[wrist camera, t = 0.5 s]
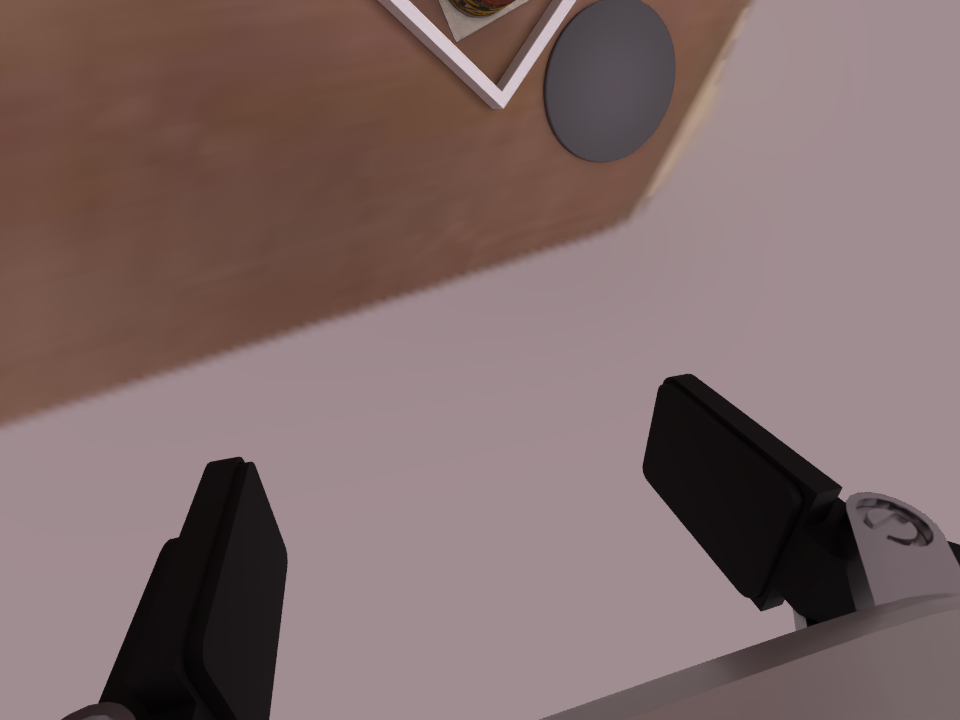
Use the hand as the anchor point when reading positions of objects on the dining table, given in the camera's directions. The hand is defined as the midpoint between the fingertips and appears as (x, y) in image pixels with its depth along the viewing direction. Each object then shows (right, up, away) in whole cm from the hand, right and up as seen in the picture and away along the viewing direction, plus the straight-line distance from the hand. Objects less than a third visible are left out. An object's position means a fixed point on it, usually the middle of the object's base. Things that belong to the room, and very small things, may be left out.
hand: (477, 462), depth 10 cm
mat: (+11, +26, +29) cm, 40 cm away
